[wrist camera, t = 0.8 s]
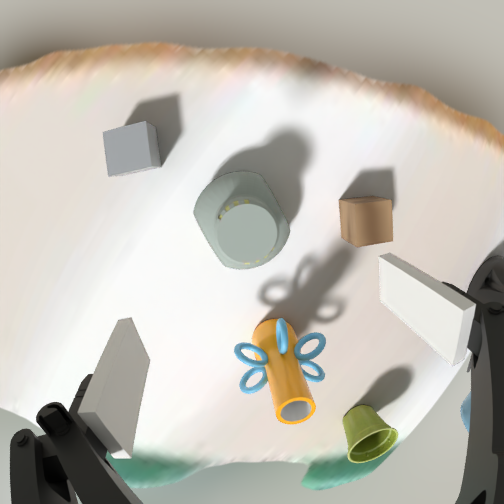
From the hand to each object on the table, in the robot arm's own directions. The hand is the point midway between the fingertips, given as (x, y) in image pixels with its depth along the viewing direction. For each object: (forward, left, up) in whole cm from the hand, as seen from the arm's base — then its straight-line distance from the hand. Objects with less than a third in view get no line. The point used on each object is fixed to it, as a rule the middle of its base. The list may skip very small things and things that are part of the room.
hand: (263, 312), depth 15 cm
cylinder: (-2, +16, -23) cm, 28 cm away
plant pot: (-16, +38, -23) cm, 47 cm away
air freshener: (0, -1, -23) cm, 23 cm away
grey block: (+11, -11, -23) cm, 28 cm away
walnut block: (-15, +1, -23) cm, 27 cm away
